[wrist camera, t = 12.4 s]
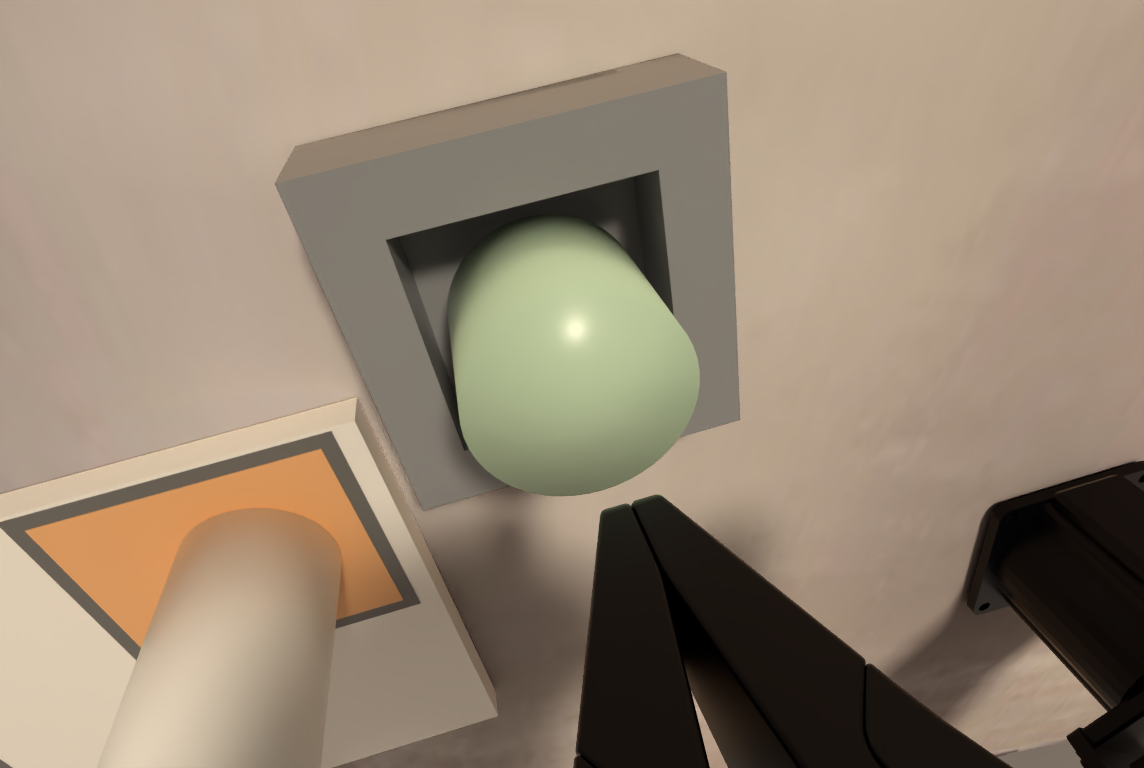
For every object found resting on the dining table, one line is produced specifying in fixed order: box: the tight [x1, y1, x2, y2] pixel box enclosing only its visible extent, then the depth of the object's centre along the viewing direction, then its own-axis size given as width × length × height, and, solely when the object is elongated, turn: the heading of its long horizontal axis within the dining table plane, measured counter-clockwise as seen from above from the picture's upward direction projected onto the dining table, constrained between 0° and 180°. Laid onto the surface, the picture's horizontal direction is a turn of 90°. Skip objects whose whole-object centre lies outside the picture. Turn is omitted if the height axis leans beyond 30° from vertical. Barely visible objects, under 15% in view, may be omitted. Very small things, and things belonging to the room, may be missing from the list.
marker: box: [97, 508, 342, 768], centre depth 13 cm, size 4×4×10 cm
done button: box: [447, 214, 700, 496], centre depth 13 cm, size 4×4×4 cm
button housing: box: [275, 53, 740, 511], centre depth 15 cm, size 8×8×2 cm
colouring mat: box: [0, 397, 498, 768], centre depth 19 cm, size 14×21×1 cm, turn 100°
